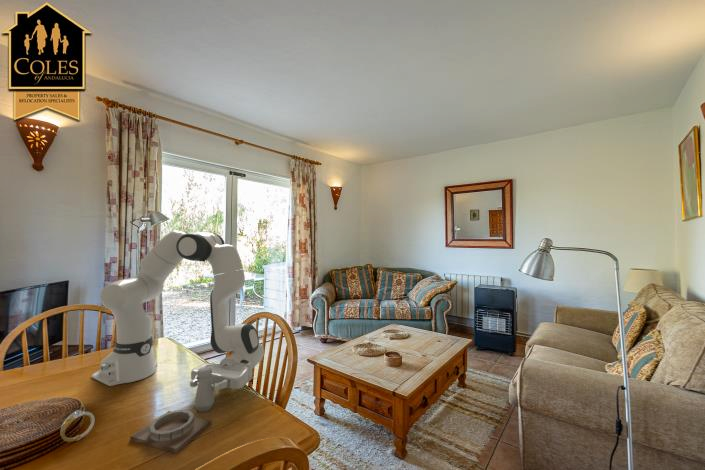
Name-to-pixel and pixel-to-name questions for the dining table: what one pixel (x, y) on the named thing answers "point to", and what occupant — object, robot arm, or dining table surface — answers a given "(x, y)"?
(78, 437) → the bracelet
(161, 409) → the dining table surface
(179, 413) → the ring stand
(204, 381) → the salt shaker
